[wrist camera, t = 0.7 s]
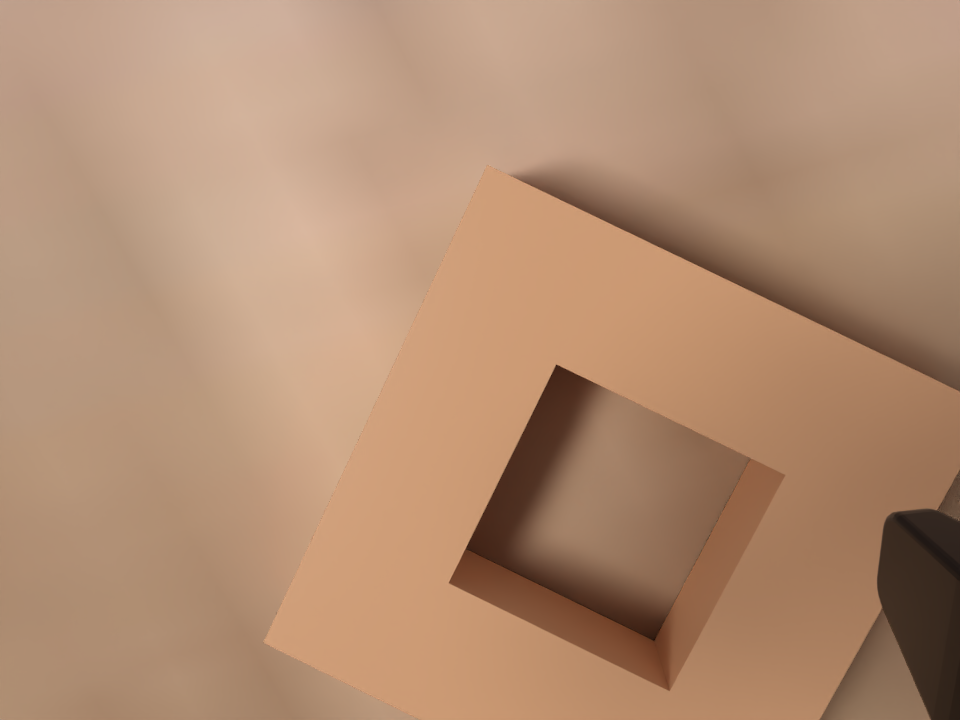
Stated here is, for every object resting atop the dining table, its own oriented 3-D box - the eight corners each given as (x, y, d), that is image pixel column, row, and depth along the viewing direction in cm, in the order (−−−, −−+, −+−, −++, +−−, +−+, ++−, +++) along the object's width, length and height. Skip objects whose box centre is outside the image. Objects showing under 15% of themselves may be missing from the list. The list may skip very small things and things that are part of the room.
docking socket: (710, 802, 25) (733, 874, 22) (295, 599, 25) (263, 642, 22) (937, 391, 24) (994, 408, 21) (493, 178, 24) (487, 164, 21)
